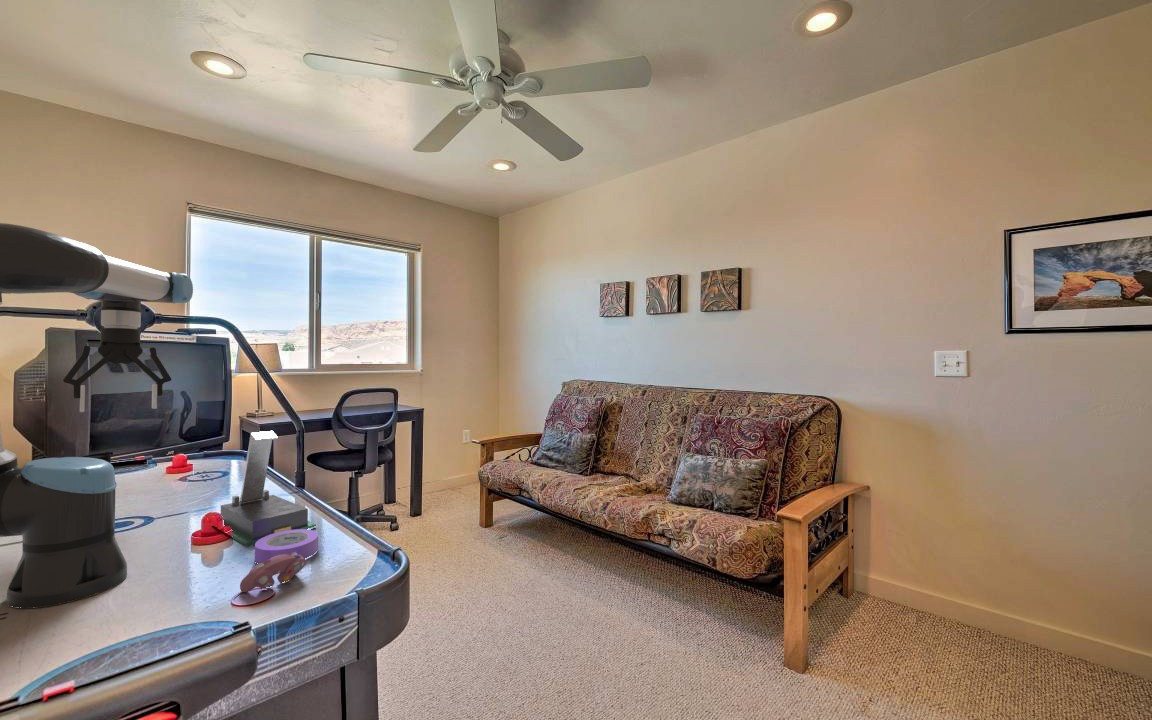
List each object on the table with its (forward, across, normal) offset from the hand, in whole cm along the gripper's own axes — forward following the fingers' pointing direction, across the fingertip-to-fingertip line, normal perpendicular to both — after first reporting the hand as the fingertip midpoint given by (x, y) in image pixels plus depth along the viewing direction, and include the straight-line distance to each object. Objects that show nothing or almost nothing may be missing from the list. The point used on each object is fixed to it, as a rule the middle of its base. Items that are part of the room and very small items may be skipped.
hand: (119, 410), depth 125 cm
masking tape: (+30, -23, +56) cm, 67 cm away
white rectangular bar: (+16, -24, +31) cm, 42 cm away
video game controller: (+30, -16, +69) cm, 77 cm away
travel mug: (+29, +5, +15) cm, 33 cm away
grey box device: (+29, -24, +32) cm, 50 cm away
